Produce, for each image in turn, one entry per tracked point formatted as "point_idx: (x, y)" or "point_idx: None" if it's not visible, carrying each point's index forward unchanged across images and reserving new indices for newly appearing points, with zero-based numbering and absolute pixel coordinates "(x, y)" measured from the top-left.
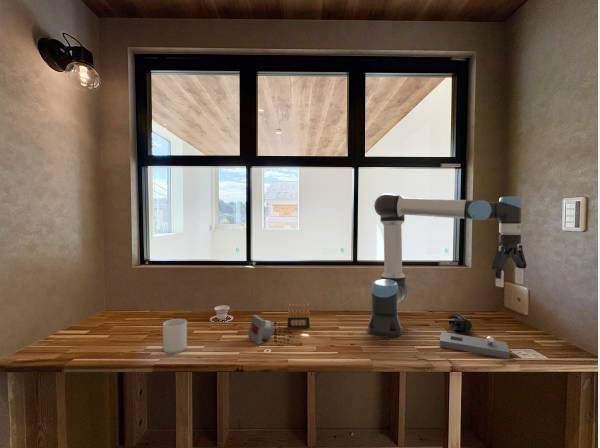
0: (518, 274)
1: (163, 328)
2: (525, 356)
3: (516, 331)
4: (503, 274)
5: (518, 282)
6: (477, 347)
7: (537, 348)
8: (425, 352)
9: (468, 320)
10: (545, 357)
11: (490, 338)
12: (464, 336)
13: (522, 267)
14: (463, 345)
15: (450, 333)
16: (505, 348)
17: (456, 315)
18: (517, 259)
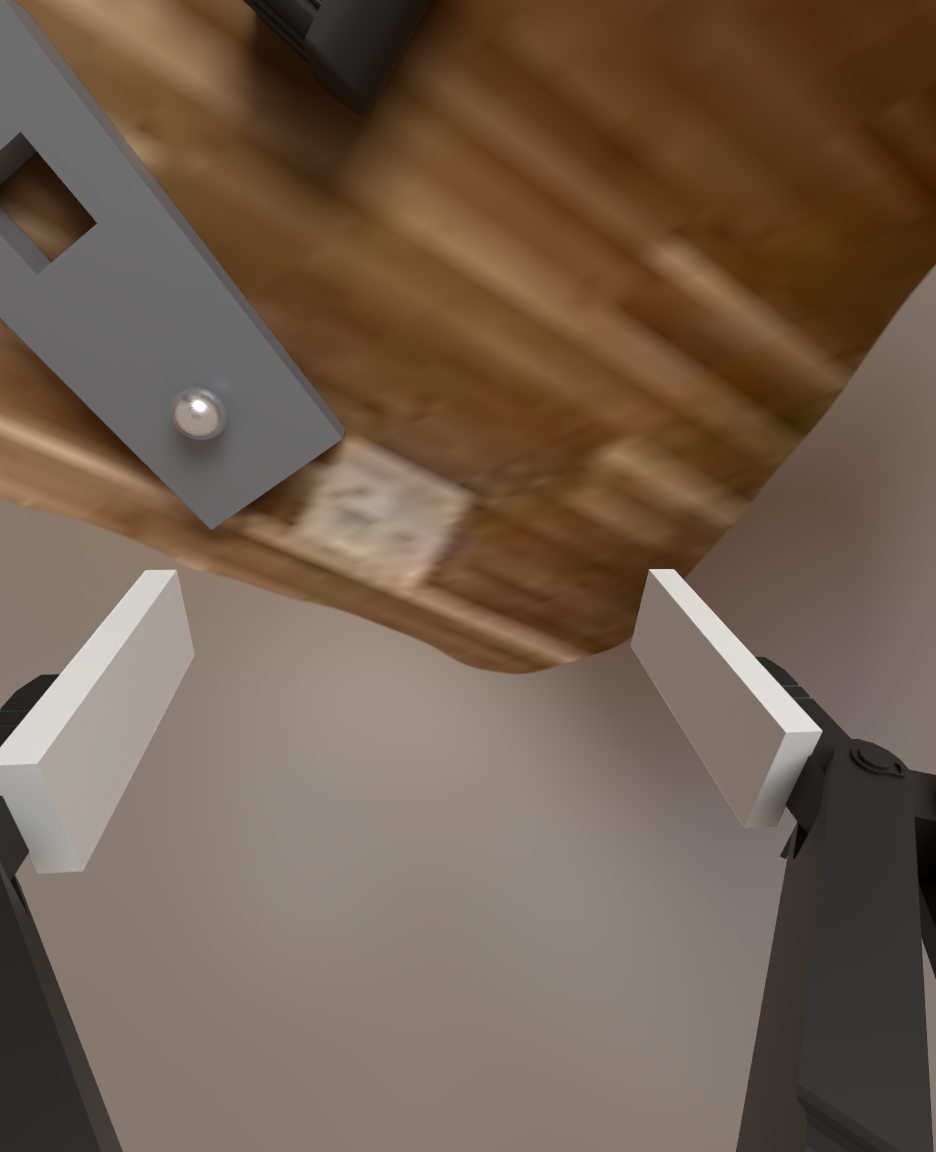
0: (699, 694)
1: None
2: (333, 533)
3: (715, 297)
4: (111, 806)
5: (643, 618)
6: (79, 394)
7: (502, 509)
8: None
9: (335, 72)
10: (413, 578)
11: (181, 428)
12: (138, 212)
13: (793, 836)
14: (5, 317)
15: (61, 83)
16: (238, 491)
17: None
18: (756, 1059)
